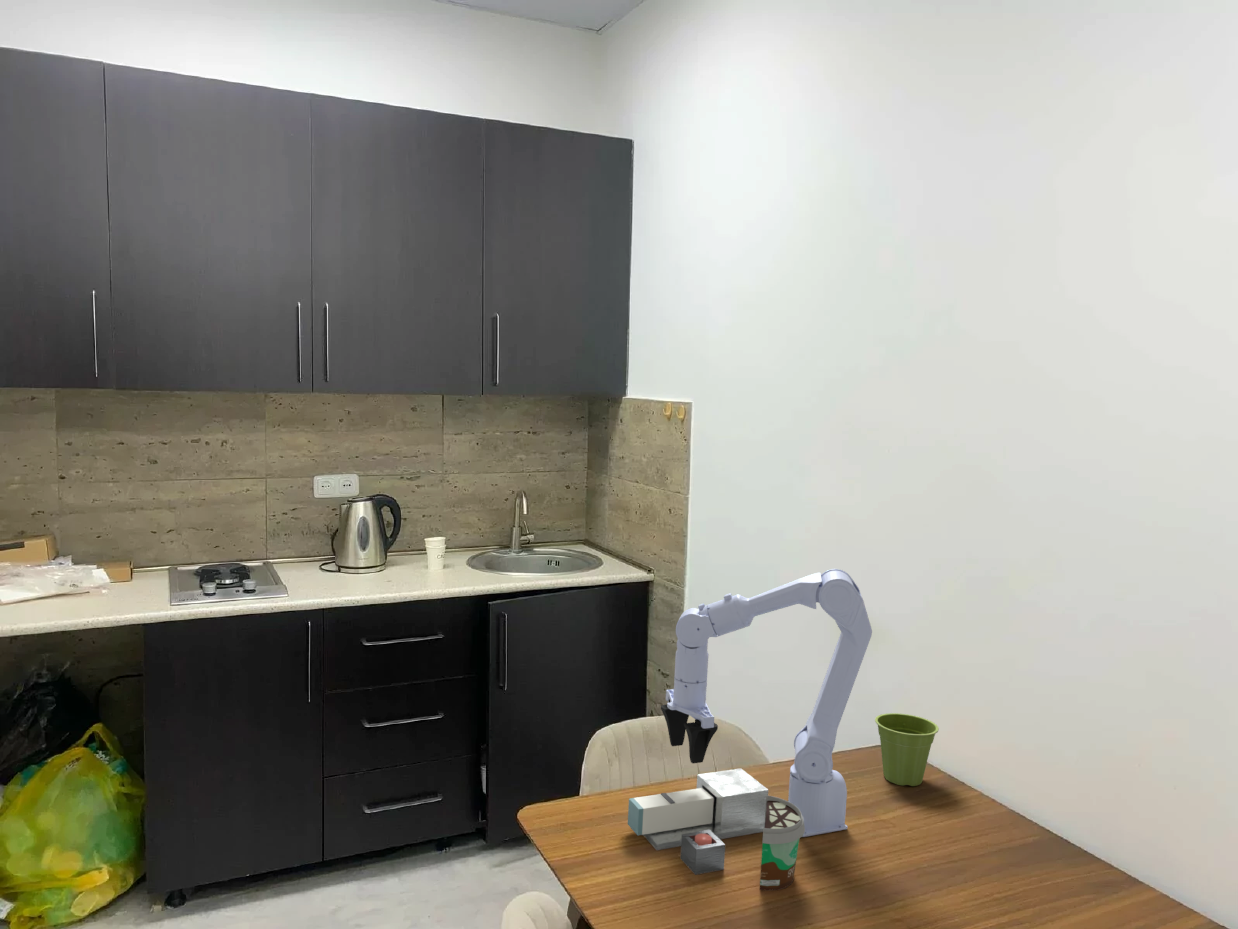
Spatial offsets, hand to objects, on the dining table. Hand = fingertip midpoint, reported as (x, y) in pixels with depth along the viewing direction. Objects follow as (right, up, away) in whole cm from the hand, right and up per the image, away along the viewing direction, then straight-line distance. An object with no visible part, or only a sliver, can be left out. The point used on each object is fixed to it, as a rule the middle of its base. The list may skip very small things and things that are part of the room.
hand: (686, 753), depth 158 cm
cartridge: (-3, -9, -8) cm, 13 cm away
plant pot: (+43, -11, +18) cm, 48 cm away
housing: (+2, -10, -6) cm, 12 cm away
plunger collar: (+1, -12, -18) cm, 21 cm away
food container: (+13, -13, -20) cm, 27 cm away
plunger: (+1, -11, -18) cm, 21 cm away
